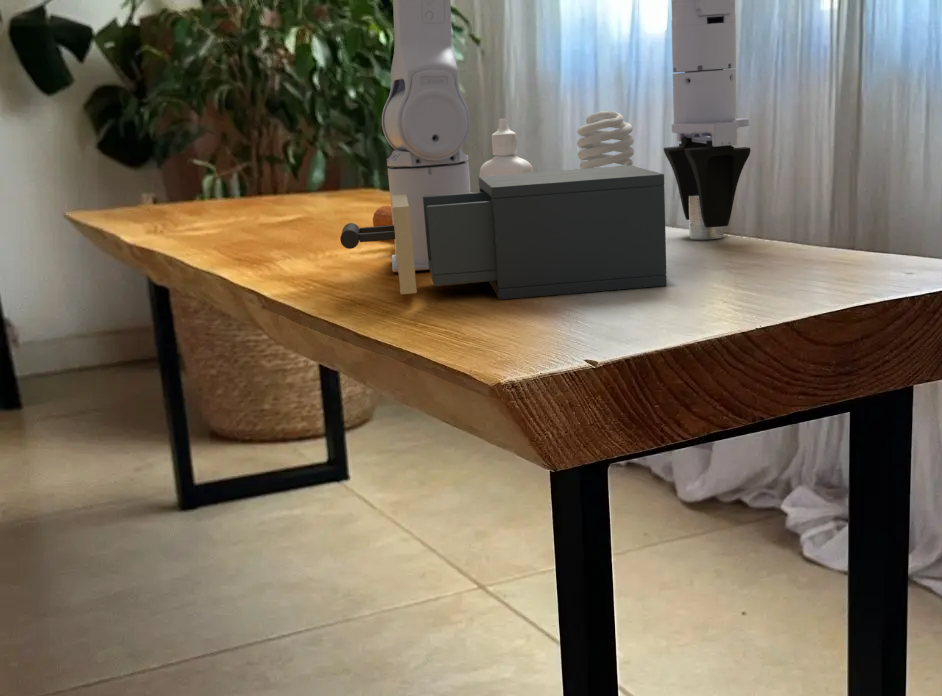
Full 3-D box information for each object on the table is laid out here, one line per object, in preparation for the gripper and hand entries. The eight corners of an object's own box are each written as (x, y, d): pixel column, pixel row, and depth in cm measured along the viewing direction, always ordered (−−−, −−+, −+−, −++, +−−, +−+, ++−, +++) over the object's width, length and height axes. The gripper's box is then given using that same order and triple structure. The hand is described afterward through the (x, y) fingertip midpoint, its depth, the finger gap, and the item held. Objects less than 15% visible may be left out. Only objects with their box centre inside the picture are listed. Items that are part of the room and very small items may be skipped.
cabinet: (499, 299, 91) (491, 187, 88) (485, 276, 103) (478, 176, 100) (667, 285, 91) (664, 174, 89) (634, 264, 103) (630, 165, 101)
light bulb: (648, 232, 124) (644, 108, 120) (611, 240, 120) (607, 111, 117) (606, 231, 128) (601, 110, 124) (569, 238, 124) (563, 114, 120)
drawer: (344, 299, 90) (335, 211, 88) (348, 277, 101) (340, 199, 99) (555, 281, 91) (550, 194, 89) (536, 262, 102) (532, 184, 100)
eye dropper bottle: (519, 238, 127) (511, 117, 123) (542, 243, 122) (535, 116, 118) (480, 243, 125) (471, 120, 121) (501, 248, 120) (493, 120, 116)
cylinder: (686, 237, 118) (685, 194, 117) (718, 234, 119) (718, 192, 117) (694, 240, 115) (693, 197, 114) (727, 238, 116) (727, 194, 114)
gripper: (770, 66, 106) (770, 226, 110) (725, 70, 119) (727, 212, 124) (690, 72, 105) (693, 232, 110) (654, 75, 119) (658, 218, 123)
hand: (706, 222), depth 117 cm, fingers open, 7 cm apart
